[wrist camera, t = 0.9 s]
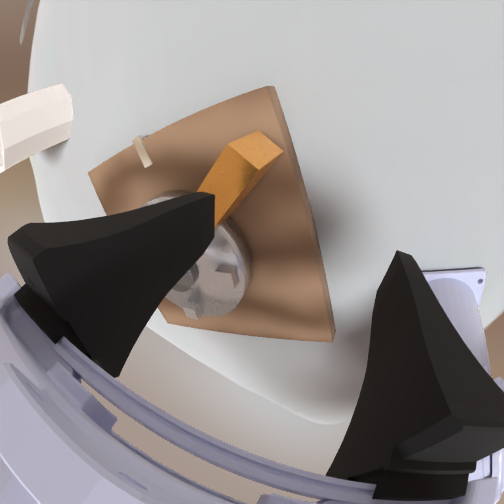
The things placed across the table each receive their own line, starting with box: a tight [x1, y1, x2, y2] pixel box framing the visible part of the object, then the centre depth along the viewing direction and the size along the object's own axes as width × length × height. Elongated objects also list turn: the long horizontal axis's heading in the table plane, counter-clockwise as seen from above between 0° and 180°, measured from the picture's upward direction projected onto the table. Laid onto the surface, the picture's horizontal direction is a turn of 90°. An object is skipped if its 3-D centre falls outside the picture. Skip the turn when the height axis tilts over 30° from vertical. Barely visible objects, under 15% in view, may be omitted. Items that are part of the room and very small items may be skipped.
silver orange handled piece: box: [139, 130, 283, 320], centre depth 20 cm, size 20×12×6 cm, turn 145°
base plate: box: [88, 86, 336, 342], centre depth 25 cm, size 22×22×2 cm
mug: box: [0, 84, 74, 173], centre depth 21 cm, size 12×9×10 cm
